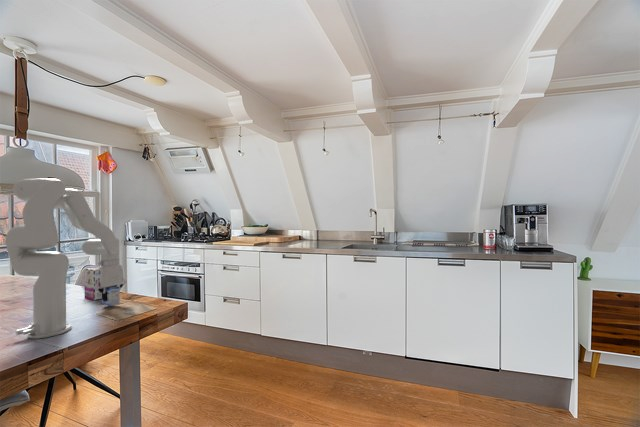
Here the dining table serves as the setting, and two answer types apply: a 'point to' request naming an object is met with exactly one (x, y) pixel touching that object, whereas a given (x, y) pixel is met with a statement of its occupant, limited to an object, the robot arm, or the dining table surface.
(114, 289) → the medicine box
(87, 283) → the candy bar box
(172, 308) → the dining table surface
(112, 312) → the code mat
